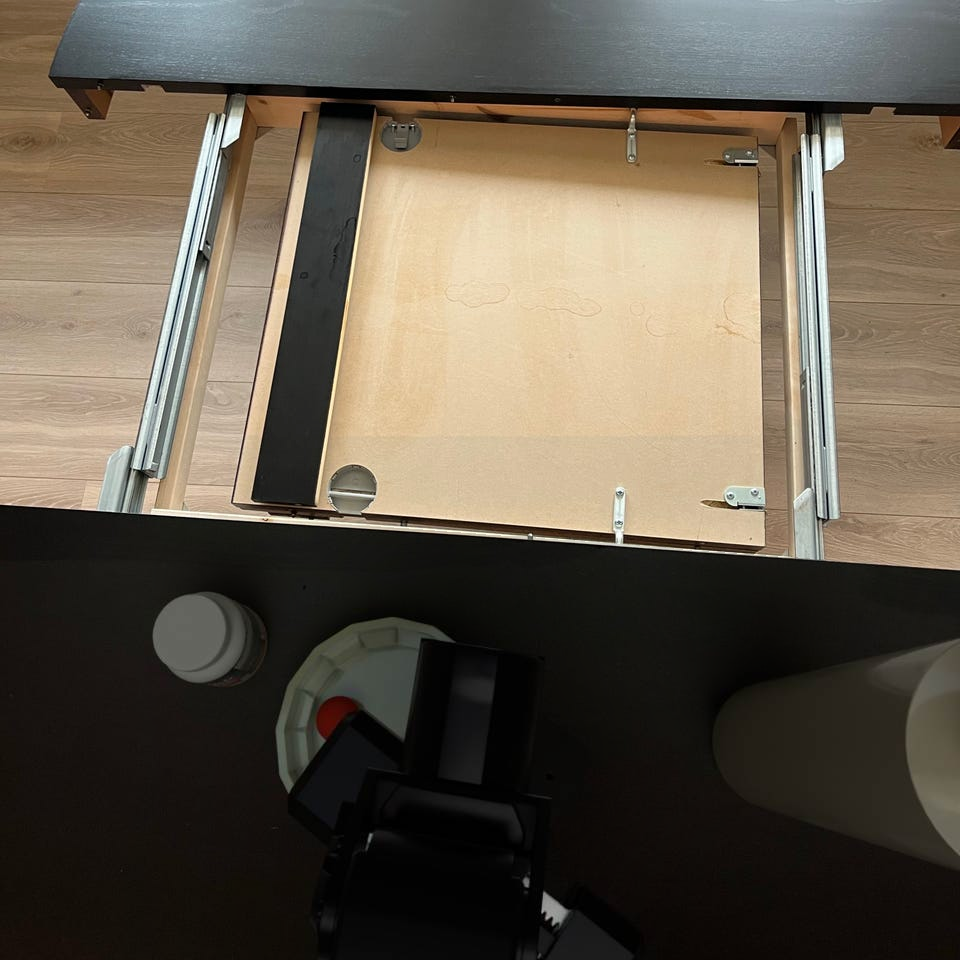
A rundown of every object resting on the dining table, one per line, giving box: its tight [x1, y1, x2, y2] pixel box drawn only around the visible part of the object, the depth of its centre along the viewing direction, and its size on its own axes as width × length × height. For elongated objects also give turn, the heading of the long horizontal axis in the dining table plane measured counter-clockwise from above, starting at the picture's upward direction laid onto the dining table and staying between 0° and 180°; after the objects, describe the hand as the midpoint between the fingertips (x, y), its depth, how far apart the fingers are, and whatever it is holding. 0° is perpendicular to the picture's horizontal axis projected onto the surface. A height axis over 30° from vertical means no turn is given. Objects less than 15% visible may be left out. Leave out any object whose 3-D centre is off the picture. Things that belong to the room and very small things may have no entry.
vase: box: [711, 636, 960, 873], centre depth 50 cm, size 8×8×46 cm
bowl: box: [274, 616, 457, 850], centre depth 70 cm, size 14×14×5 cm
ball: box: [316, 696, 359, 740], centre depth 71 cm, size 3×3×3 cm
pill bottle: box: [152, 591, 268, 687], centre depth 71 cm, size 6×6×10 cm
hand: (470, 853), depth 62 cm, fingers open, 9 cm apart
